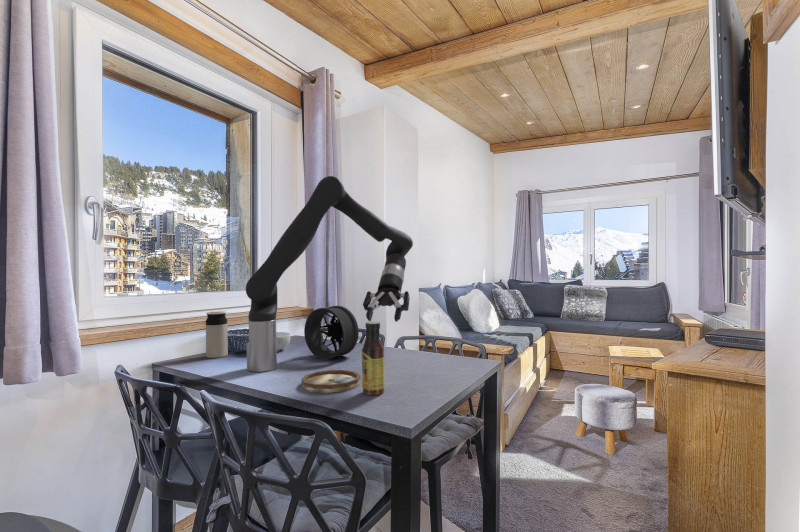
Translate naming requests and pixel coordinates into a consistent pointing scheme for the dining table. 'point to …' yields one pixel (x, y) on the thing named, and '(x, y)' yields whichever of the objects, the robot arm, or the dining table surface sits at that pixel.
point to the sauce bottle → (373, 361)
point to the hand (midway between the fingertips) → (382, 319)
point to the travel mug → (216, 334)
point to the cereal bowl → (282, 339)
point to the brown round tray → (331, 381)
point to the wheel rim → (331, 332)
